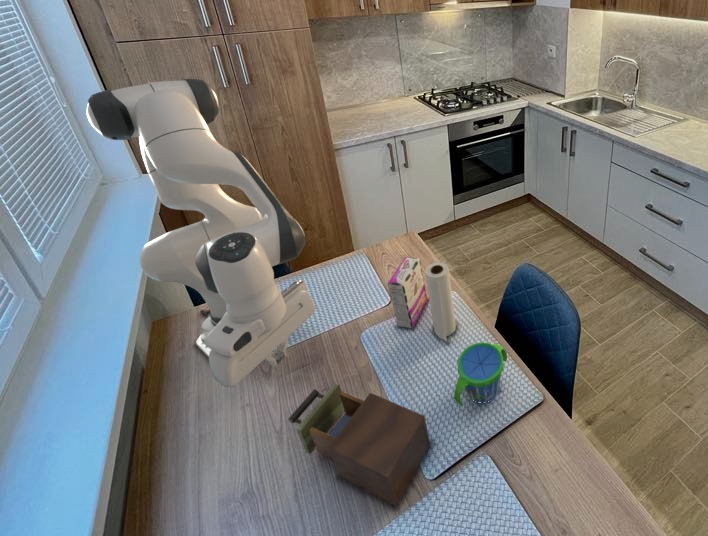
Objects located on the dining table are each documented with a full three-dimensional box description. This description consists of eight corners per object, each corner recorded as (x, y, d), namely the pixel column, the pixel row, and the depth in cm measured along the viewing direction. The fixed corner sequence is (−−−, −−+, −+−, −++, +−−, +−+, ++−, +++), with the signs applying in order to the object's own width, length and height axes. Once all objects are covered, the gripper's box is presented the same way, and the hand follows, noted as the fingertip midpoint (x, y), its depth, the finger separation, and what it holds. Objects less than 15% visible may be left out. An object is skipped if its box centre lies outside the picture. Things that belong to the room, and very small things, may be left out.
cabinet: (339, 476, 81) (328, 447, 77) (378, 420, 91) (370, 392, 86) (395, 507, 76) (387, 477, 72) (430, 444, 86) (424, 415, 81)
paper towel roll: (441, 317, 117) (432, 259, 108) (459, 323, 115) (452, 264, 106) (427, 337, 111) (417, 276, 102) (447, 343, 109) (438, 282, 99)
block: (333, 448, 84) (328, 435, 82) (349, 427, 87) (345, 414, 85) (350, 457, 82) (345, 444, 80) (365, 436, 86) (361, 422, 84)
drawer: (287, 441, 86) (276, 418, 83) (325, 397, 95) (317, 374, 92) (352, 477, 80) (344, 453, 76) (387, 425, 89) (380, 402, 85)
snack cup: (470, 430, 88) (467, 400, 84) (443, 397, 95) (438, 367, 91) (521, 383, 98) (521, 354, 93) (493, 356, 105) (491, 328, 100)
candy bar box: (412, 298, 124) (404, 255, 117) (427, 300, 123) (420, 257, 116) (396, 327, 114) (386, 282, 107) (412, 329, 113) (403, 284, 106)
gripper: (291, 272, 87) (307, 319, 93) (194, 347, 70) (221, 398, 76) (313, 279, 85) (328, 326, 91) (218, 359, 68) (244, 410, 74)
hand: (278, 360), depth 83 cm, fingers closed
